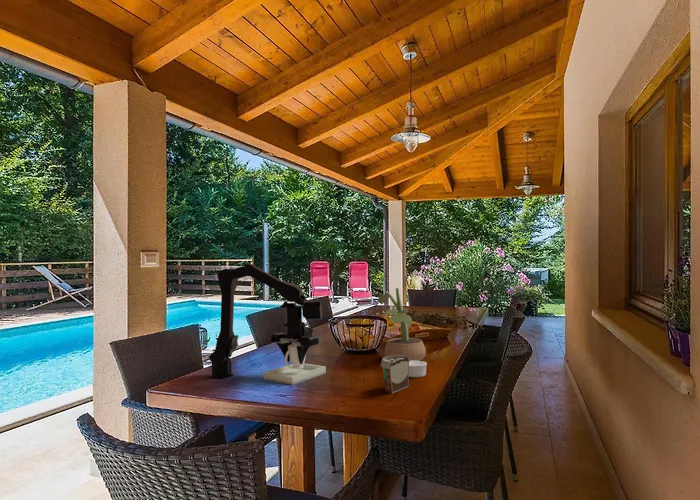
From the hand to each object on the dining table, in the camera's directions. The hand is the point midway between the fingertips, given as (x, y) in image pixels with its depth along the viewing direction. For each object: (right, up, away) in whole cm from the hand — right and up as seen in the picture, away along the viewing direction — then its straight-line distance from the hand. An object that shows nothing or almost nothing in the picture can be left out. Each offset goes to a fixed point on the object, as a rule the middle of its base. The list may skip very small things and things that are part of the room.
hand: (294, 362), depth 173 cm
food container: (+34, -4, -18) cm, 39 cm away
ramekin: (+43, -4, -2) cm, 44 cm away
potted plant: (+41, -4, +21) cm, 46 cm away
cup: (0, -2, 0) cm, 2 cm away
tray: (0, -5, 0) cm, 5 cm away
